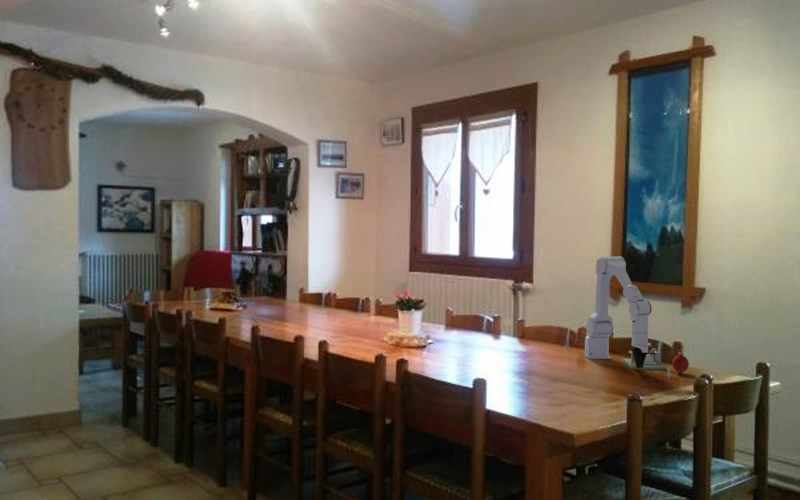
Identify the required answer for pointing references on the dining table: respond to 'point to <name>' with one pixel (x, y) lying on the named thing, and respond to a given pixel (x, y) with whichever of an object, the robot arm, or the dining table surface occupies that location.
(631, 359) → the block
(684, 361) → the onion
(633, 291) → the robot arm
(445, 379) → the dining table surface
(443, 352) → the dining table surface
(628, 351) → the strap
